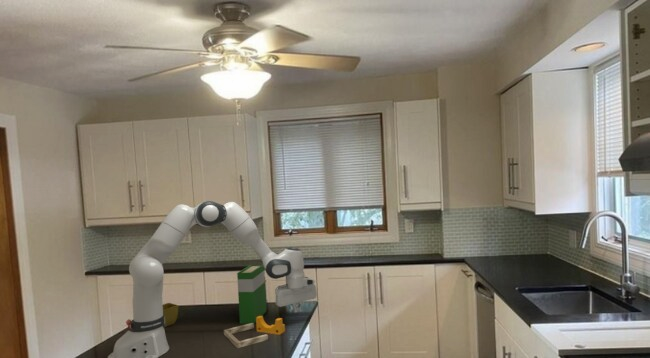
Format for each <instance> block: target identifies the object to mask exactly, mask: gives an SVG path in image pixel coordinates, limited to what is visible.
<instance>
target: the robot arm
mask: <svg viewBox="0 0 650 358" xmlns="http://www.w3.org/2000/svg"><path fill="white" fill-rule="evenodd" d="M218 224H221V225H223V226H224V227H226V229H227V230H228V231H229V232H230V234H231V235H232V236H233V237H234V238H235V239H237V240H238V241H239V242H240V243H242V244H246V245H247V246H249V247H250V248H251V249H252V250H253V251H254V253H255V254H256V255H257V256H258V257H259V259H260V261H261V263H262V264H261V265H263V267H264V271H265V272H266V273H265V274H266V275H267V276H268V277H269V278H270V279H275V280H276V279H277V280H278V279H281V278H285V284H283V285H278V286H277V287H276V288H275V289H274V290H275V291H274V292H275V305H276V306H277V307H279V308H282V307H286V306H290V305H291V308H293V313H298V312H299V313H300V312H302V309H301V308H302V307H303V304H304V302H306V301H310V300H314V299H316V298H317V296H318V295H317V294H318V293H317V287H316V285H315V279H313V278H312V277H307V276H306V275H305V272H304V269H305V262H304V254H303V251H302V250H301V249H299V248H297V247H293V246H292V247H286V248H285V249H284V250H283V251H281V252H280V253H278V252H276V251H274V250H272V249H271V248H270V247H269V246H268V245H267V244H266V242H265V241H264V239H263V238H262V237H261V235H260V233H259V229H258V226H257V225H256V223H255V222H254V219H253V218H252V217H251V216H250V215H249V214H248V213H247V212H246V211H245V209H244V208H243V207H241V206H240V205H239V204H238V203H237V202H235V201H228V202H227V203H224V204H221V203H218V202H216V201H212V200H207V201H203V202H201V203H199V204H198V205H196V206H194V207H191V206H189V205H187V204H183V203H182V204H177V205H176V206H175V207H173V208H172V210H171V211H170V212H169V213H168V214H167V215H166V216H165V218H164V219H163V220H162V221H161V223H160V224H159V226H158V227H157V229H156V230H155V232H154V233H153V235H152V236H151V238H149V239H148V241H147V242H146V243H145V244H144V246H143V247H142V248H141V249H140V250H139V251H138V253H136V255H135V256H134V258H132V260H131V261H130V262H129V266H128V272H129V275H130V276H131V278H132V282H133V284H132V285H133V286H132V289H133V291H132V314H133V315H132V316H133V317H132V318H133V319H127V320H126V322H125V323H126V326H127V328H128V330H127V331H126V332H125V333H124V334H123V335H121V336H120V337H119V338H118V339H117V340H116V341H115V343H114V345H113V350H112V351H113V352H111V353H110V354H109V355H108V356H107V358H159V357H161V356H162V355H164V354H165V353H168V351H169V350H170V346H169V344H168V340H167V337H166V336H167V335H166V332H165V331H166V330H165V328H166V327H165V317H164V314H163V290H164V273H165V272H164V263H165V262H166V261H167V260H168V258H170V257H171V255H173V254H174V253H175V252H176V250H177V249H178V248H179V246H180V244H181V243H182V241H183V240H185V239H184V238H185V237H186V235H187V234H188V233H189V230H191V229H192V227H193V226H195V225H196V226H199V227H203V228H210V227H213V226H216V225H218ZM296 304H298V305H297V307H296Z"/></svg>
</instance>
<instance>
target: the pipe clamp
mask: <svg viewBox="0 0 650 358" xmlns="http://www.w3.org/2000/svg"><path fill="white" fill-rule="evenodd" d="M255 325H256V333H262V334H264V333H265V334H271V335H277V336H278V335H279V336H280V335H282V334H283V333H285V332H286V325H285V323H283V318H282V317H278V318H276V319H275V321H274V324H271V325H269V324H267V323H266V321H265V320H264V315H262V316H258V317H256V323H255Z"/></svg>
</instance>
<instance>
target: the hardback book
mask: <svg viewBox="0 0 650 358" xmlns="http://www.w3.org/2000/svg"><path fill="white" fill-rule="evenodd" d="M265 272H266V271H265V269H264V267H263V264H261V265H253V264H250V265H248V266H246V267H245V268H243V269H242V270H240V271H238V272H237V273H236V275H237V276H236V277H237V291H238V293H237V295H238V309H239V310H238V311H239V312H238V313H239V315H238V316H239V324H250V323H253V324H254V325H256V317H258V316H264V315H265V313H266V312H267V310H268V309H267V293H266V292H267V291H266V276H265V274H266V273H265Z"/></svg>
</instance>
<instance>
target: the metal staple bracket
mask: <svg viewBox="0 0 650 358" xmlns="http://www.w3.org/2000/svg"><path fill="white" fill-rule="evenodd" d="M254 328H255V324H253V323H245V324H241V325H238V326H235V327H234V326H233V327H231V328H226V329H223V335H224V337H226V338H227V340H229V341H230V343H231V344H232V345H233V346H234V347H235V348H236V349H240V348H243V347H247V346H251V345H254V344H255V345H256V344H258V343H262V342H265V341H268V340H269V335H268V333H265V334H262V335H258V336H254V337H251V338H246V339H243V340H239V339H238V338H236V337H235V335H233V334H236V333H240V332H244V331H248V330H253V329H254Z"/></svg>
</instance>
